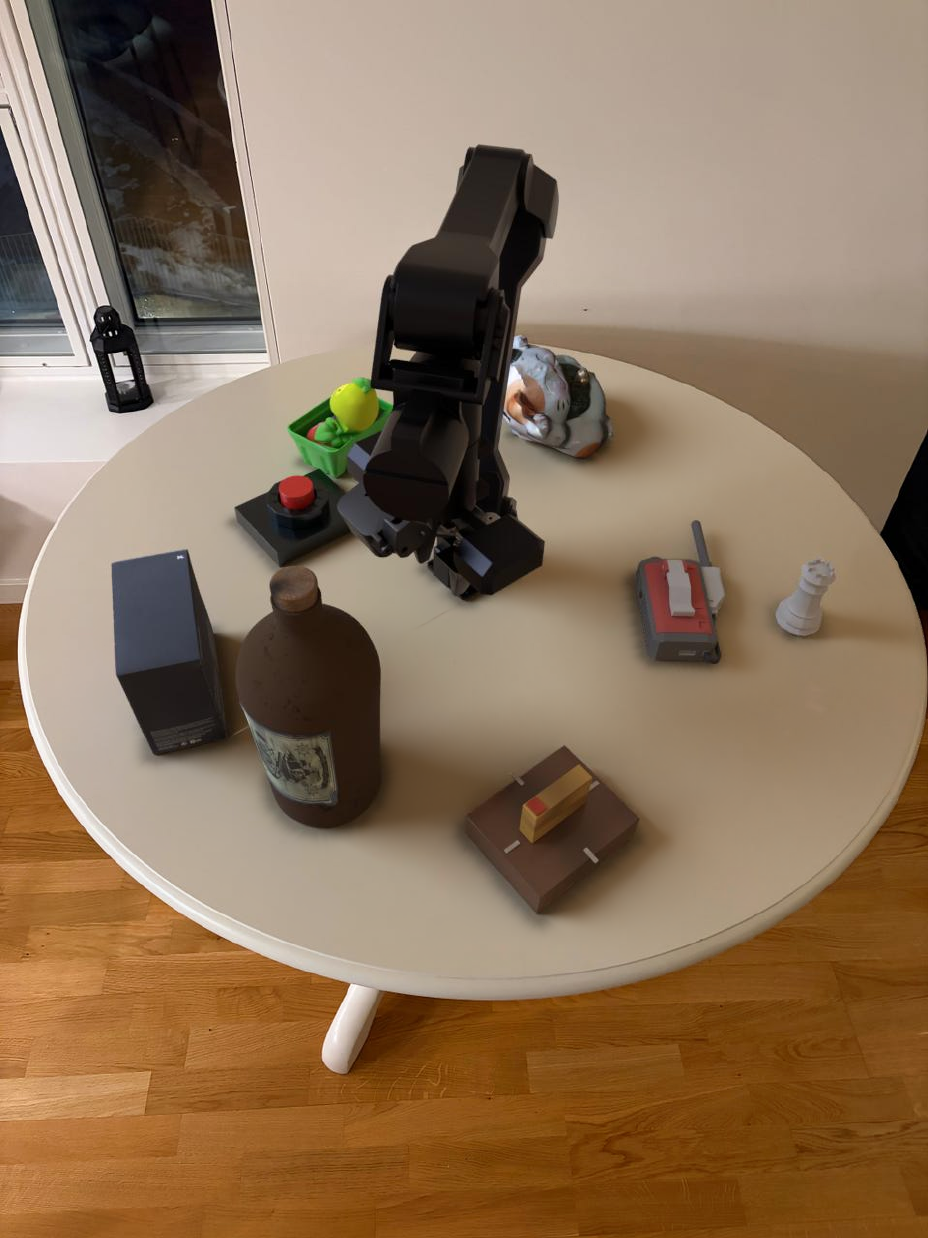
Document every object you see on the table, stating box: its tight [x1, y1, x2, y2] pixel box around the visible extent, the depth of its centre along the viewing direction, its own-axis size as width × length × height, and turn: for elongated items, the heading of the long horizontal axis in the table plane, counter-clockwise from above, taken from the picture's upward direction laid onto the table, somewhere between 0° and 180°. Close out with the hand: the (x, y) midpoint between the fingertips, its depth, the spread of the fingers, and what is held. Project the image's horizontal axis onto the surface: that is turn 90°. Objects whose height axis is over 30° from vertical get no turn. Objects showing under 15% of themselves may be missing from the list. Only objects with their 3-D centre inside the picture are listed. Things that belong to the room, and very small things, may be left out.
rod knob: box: [519, 764, 592, 843], centre depth 71 cm, size 6×2×4 cm, turn 129°
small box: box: [110, 548, 229, 756], centre depth 80 cm, size 13×7×12 cm, turn 16°
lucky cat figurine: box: [502, 334, 615, 459], centre depth 107 cm, size 15×12×14 cm
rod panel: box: [464, 744, 641, 915], centre depth 74 cm, size 11×10×3 cm
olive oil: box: [235, 565, 382, 828], centre depth 69 cm, size 11×11×25 cm
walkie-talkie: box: [634, 519, 726, 666], centre depth 92 cm, size 9×4×20 cm
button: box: [279, 474, 315, 509], centre depth 96 cm, size 4×4×2 cm
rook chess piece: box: [775, 557, 837, 637], centre depth 89 cm, size 4×4×8 cm
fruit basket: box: [286, 376, 393, 479], centre depth 104 cm, size 11×9×11 cm
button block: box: [233, 468, 352, 568], centre depth 98 cm, size 11×9×4 cm
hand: (440, 577), depth 78 cm, fingers open, 5 cm apart
